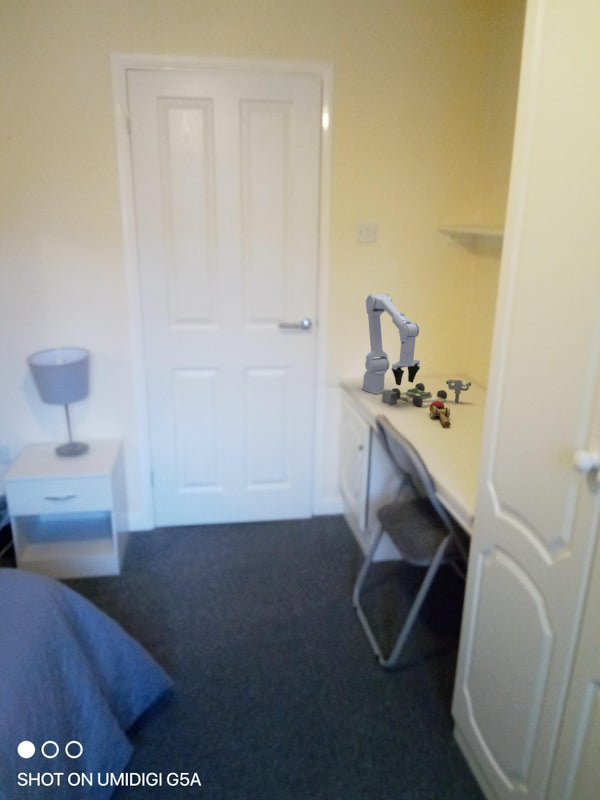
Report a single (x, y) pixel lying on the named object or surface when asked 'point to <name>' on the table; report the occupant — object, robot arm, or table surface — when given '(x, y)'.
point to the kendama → (440, 412)
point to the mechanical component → (457, 387)
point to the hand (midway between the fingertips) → (404, 383)
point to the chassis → (420, 396)
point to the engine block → (389, 397)
